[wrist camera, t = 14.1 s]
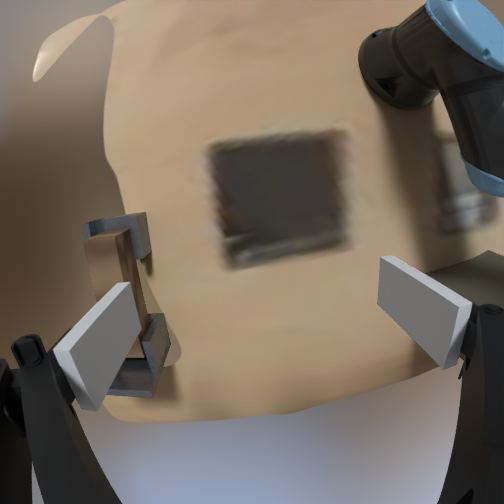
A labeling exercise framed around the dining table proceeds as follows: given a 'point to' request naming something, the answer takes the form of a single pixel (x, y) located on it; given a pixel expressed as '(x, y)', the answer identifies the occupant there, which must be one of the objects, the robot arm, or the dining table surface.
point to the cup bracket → (144, 363)
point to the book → (476, 280)
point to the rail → (117, 274)
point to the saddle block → (131, 221)
